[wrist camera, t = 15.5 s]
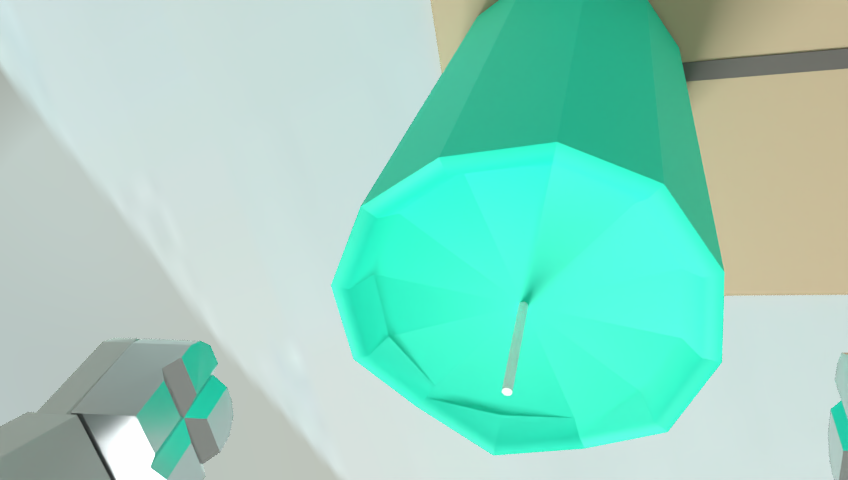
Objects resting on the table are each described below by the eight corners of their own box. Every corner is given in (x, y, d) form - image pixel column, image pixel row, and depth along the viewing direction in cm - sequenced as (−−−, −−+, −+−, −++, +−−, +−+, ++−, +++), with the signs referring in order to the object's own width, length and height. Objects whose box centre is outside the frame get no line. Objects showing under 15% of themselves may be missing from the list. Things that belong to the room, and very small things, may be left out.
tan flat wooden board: (1393, -386, 13) (1416, -390, 13) (1146, 283, 20) (1156, 293, 19) (404, -194, 18) (400, -193, 18) (478, 290, 25) (476, 298, 24)
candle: (420, 22, 20) (219, 265, 10) (644, -70, 18) (670, 128, 8) (502, 210, 22) (406, 555, 12) (709, 151, 20) (793, 518, 10)
